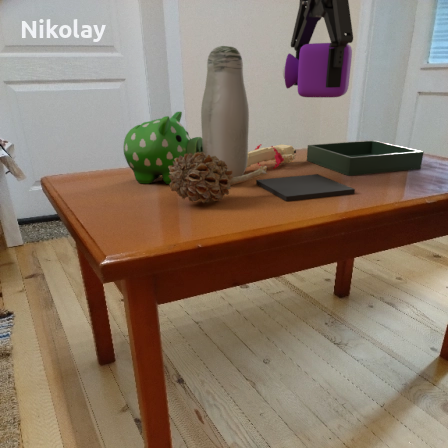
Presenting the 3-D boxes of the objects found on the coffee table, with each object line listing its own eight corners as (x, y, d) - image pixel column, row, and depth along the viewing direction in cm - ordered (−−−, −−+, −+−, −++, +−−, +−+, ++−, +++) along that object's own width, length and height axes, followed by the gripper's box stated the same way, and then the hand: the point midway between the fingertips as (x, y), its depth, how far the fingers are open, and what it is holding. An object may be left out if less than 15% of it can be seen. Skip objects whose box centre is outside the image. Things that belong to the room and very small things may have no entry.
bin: (420, 168, 114) (423, 151, 112) (348, 175, 108) (350, 157, 106) (370, 155, 132) (372, 140, 130) (306, 160, 126) (307, 145, 124)
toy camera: (282, 95, 97) (284, 43, 92) (346, 94, 95) (351, 41, 90) (280, 98, 87) (282, 40, 82) (351, 98, 85) (357, 38, 81)
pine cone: (181, 214, 82) (178, 159, 77) (161, 202, 89) (157, 151, 84) (277, 197, 91) (279, 147, 87) (252, 188, 99) (253, 141, 94)
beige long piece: (239, 183, 108) (306, 161, 121) (237, 146, 103) (306, 127, 116) (213, 177, 114) (279, 156, 128) (210, 142, 110) (279, 124, 123)
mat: (354, 193, 93) (355, 189, 92) (286, 201, 88) (286, 196, 88) (317, 178, 106) (317, 173, 106) (255, 184, 102) (256, 179, 101)
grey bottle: (233, 189, 97) (232, 44, 84) (196, 184, 102) (189, 46, 89) (255, 180, 105) (257, 45, 92) (219, 176, 110) (216, 47, 97)
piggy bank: (194, 188, 99) (191, 116, 92) (118, 186, 102) (109, 117, 95) (207, 174, 112) (204, 110, 105) (138, 173, 114) (132, 111, 107)
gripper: (277, -32, 89) (273, 84, 99) (344, -63, 68) (330, 89, 78) (311, -31, 91) (303, 84, 101) (385, -60, 70) (367, 87, 80)
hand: (315, 86), depth 90 cm, fingers closed on toy camera, 13 cm apart
